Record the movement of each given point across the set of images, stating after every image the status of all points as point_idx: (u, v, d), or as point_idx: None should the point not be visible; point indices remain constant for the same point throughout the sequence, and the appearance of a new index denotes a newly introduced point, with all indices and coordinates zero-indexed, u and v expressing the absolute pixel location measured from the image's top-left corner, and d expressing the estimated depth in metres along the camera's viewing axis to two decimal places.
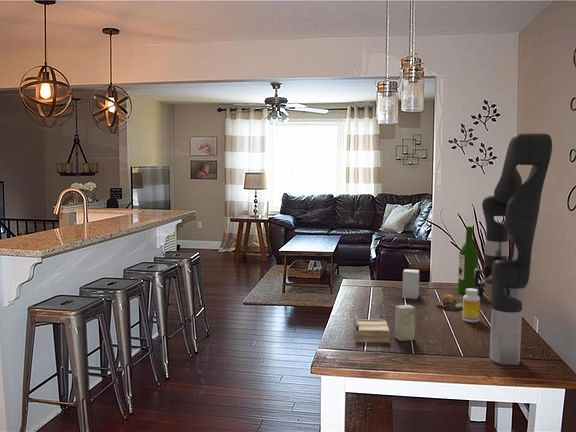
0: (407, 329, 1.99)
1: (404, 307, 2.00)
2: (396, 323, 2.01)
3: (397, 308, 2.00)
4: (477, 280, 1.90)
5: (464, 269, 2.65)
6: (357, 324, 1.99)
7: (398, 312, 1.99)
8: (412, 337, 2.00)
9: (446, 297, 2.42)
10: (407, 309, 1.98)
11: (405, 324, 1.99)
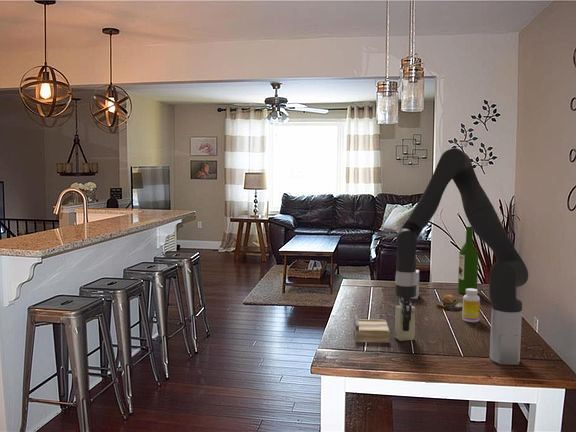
0: None
1: None
2: (396, 323, 2.01)
3: (397, 308, 2.00)
4: (410, 314, 1.95)
5: (464, 269, 2.65)
6: (357, 324, 1.99)
7: (398, 312, 1.99)
8: (412, 337, 2.00)
9: (446, 297, 2.42)
10: None
11: None
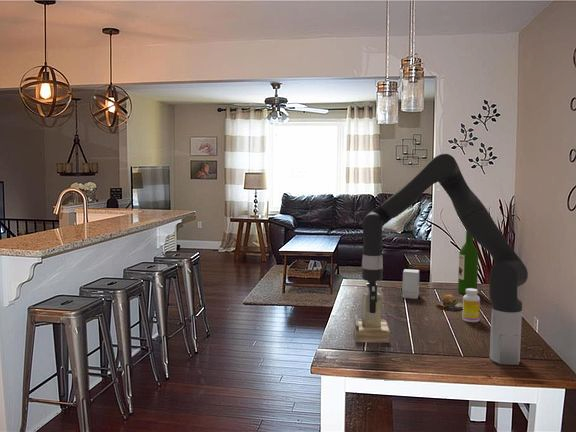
0: (373, 316, 2.02)
1: None
2: (363, 310, 2.04)
3: (364, 295, 2.03)
4: (376, 296, 1.96)
5: (464, 269, 2.65)
6: (357, 324, 1.99)
7: (364, 299, 2.02)
8: (378, 324, 2.02)
9: (446, 297, 2.42)
10: None
11: None
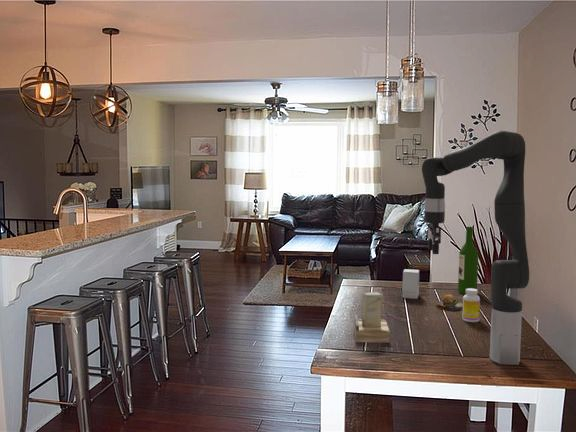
0: (373, 316, 2.02)
1: (371, 294, 2.02)
2: (363, 310, 2.04)
3: (364, 295, 2.03)
4: None
5: (464, 269, 2.65)
6: (357, 324, 1.99)
7: (364, 299, 2.02)
8: (378, 324, 2.02)
9: (446, 297, 2.42)
10: (373, 296, 2.01)
11: (372, 311, 2.01)
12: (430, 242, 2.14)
